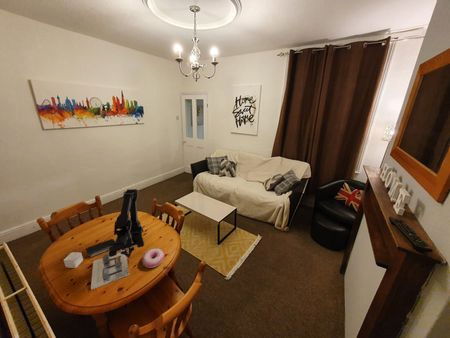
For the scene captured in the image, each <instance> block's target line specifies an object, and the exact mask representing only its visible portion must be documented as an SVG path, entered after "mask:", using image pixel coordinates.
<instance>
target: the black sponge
mask: <svg viewBox="0 0 450 338" xmlns="http://www.w3.org/2000/svg"><path fill="white" fill-rule="evenodd" d="M114 242H115V239H113V238H111V239H108V240H105V241H101V242H100V243H97V244H93V245H91V246H88V247H87V248H85V252H86V254H87V257H88V258H92V257H95V256H97V255H100V254H102V253H104V252H107V251H109V248H110V247H112V246H113V244H114Z"/></svg>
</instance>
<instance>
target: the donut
mask: <svg viewBox="0 0 450 338" xmlns="http://www.w3.org/2000/svg"><path fill="white" fill-rule="evenodd" d="M165 257H166V256H165V252H164V251H163V250H162V249H160V248H151V249H149V250H147V251H145V253H144V254H143V255H142V259H141V261H142V265H143V266H144V267H146V268H147V269H148V268H149V269H151V268H155V267H158V266H159V265H161V264H162V263H163V262H164V260H165Z"/></svg>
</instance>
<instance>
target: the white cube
mask: <svg viewBox="0 0 450 338" xmlns="http://www.w3.org/2000/svg"><path fill="white" fill-rule="evenodd" d="M83 261H84V257H83V255H82V252H78V251H77V252H75V251H73V252H70V253H69V254H68V255H67V256H66V257H65V258H64V259H63V262H64V263H63V264H64V266H65V268H66V269H67V268H72V269H73V268H75V269H76V268H78V266H79V265H80V264H81V263H82V262H83Z"/></svg>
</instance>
